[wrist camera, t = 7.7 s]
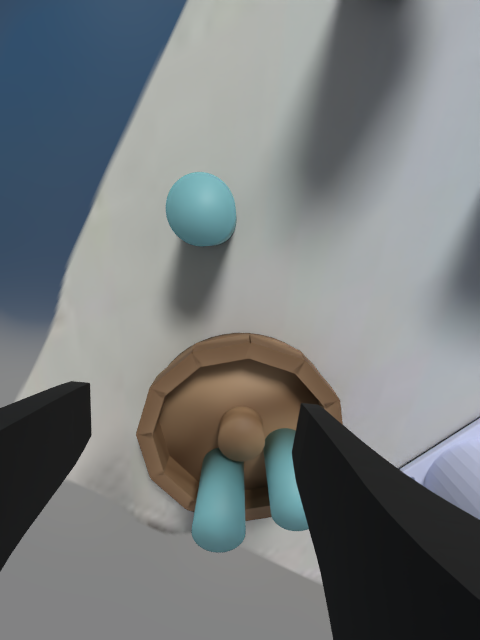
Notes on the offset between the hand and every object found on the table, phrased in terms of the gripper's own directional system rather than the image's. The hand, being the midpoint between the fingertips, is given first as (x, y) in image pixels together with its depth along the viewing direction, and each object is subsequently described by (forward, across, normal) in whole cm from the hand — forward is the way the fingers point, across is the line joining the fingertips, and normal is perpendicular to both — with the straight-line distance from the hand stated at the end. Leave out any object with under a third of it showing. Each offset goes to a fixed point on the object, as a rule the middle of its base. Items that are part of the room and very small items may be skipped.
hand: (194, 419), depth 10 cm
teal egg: (+10, +1, -7) cm, 12 cm away
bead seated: (+9, -6, +8) cm, 13 cm away
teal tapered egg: (+9, -2, +10) cm, 13 cm away
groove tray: (+10, -2, +6) cm, 12 cm away
